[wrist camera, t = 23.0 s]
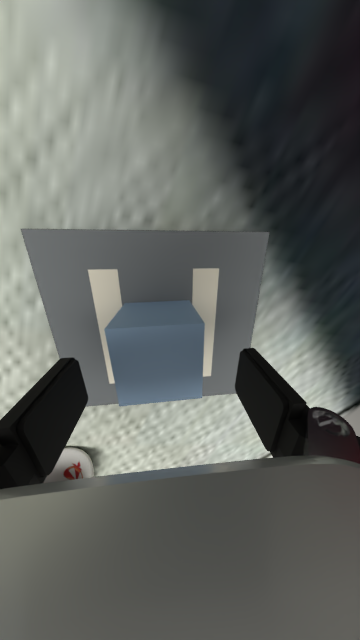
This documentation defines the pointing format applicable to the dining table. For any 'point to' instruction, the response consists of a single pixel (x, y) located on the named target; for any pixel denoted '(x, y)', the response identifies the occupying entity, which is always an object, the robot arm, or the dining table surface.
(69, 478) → the cup
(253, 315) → the letter mat
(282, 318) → the dining table surface
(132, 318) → the cube
